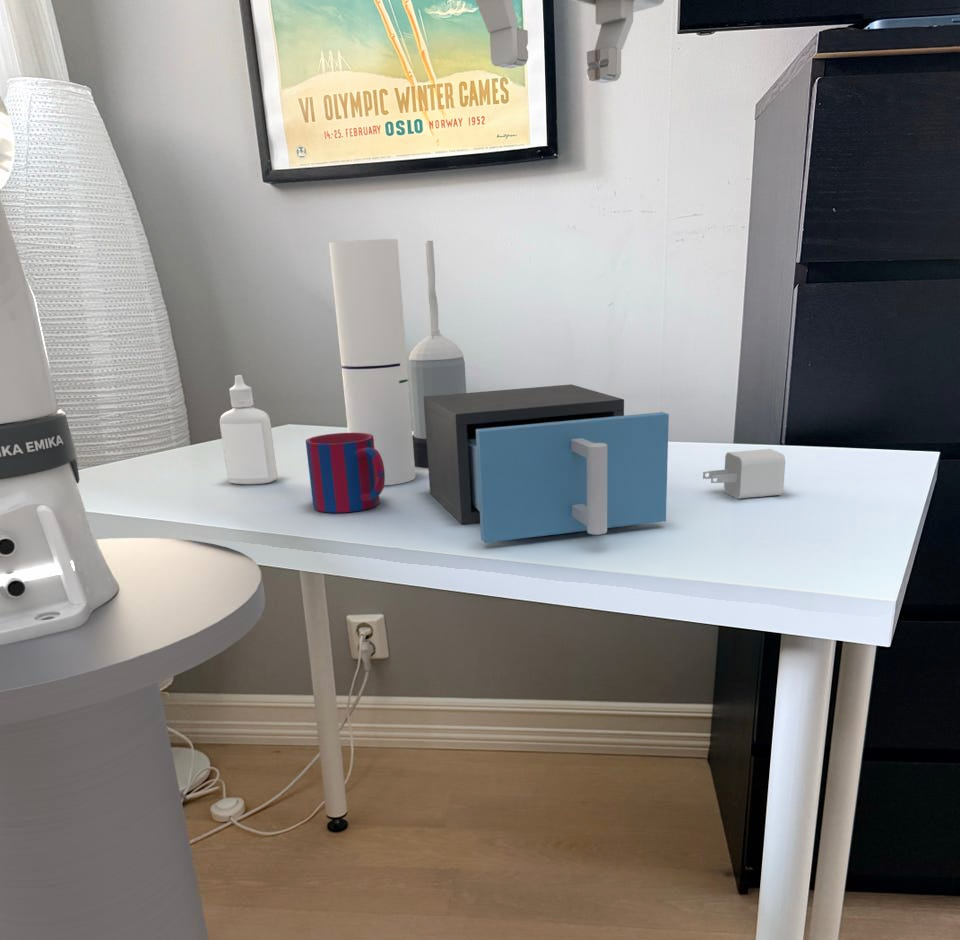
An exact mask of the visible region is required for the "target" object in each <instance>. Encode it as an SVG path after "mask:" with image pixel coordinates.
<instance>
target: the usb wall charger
mask: <svg viewBox="0 0 960 940" xmlns="http://www.w3.org/2000/svg"><path fill="white" fill-rule="evenodd" d="M785 472H786V457H785V454H784V453H782V452H779V451H778V450H774V449H772V448H765V449H764V448H763V449H753V450H741V451H740V450H739V451H729V452H726V454H725V456H724V469H717V470H707V471H703V472H702V479H705V480H706V479H707V480H708V479H709V480H710V483H711V484H723V488H724V489H723V490H724V492H725V493H726V494H728V495H730V496H731V497H733V498H735V499H736V500H737V499H749V498H750V499H751V498H761V497H763V498H764V497H773V496H782V494H783V492H784V486H785V485H784V484H785ZM707 474H708V476H706V475H707ZM715 479H716V481H714V480H715Z"/></svg>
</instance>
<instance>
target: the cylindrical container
mask: <svg viewBox="0 0 960 940" xmlns="http://www.w3.org/2000/svg"><path fill="white" fill-rule="evenodd" d="M328 248H329V257H330V267H331V277H332V288H333V297H334V307H335V316H336V326H337V327H336V328H337V337H338V347H339V355H340V365H341V366H342V367H341V376H342V377H341V378H342V386H343V394H344V395H343V396H344V405H345V417H346V424H347V425H346V426H347V433H367V434H371V435H373V439H374V449H376V450H377V451H378V452H379V454H380V456H381V458H382V461H383V465H384V472H385V482H384V487H385V486H394V485H400V484H405V483H408V482H411V481H414V480H415V479H416V466H415V463H414V450H413V437H412V436H413V422H412V409H411V396H410V383H409V370H408V359H407V346H406V345H407V344H406V334H405V332H406V331H405V321H404V320H405V319H404V307H403V294H402V293H403V292H402V280H401V279H402V278H401V268H400V267H401V266H400V255H399V254H400V253H399V241H398V239H395V238H393V239H392V238H391V239H390V238H388V239H385V238H383V239H361V240H359V239H358V240H348V241H347V240H343V241H333V242H329V243H328Z"/></svg>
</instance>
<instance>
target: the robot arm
mask: <svg viewBox="0 0 960 940" xmlns="http://www.w3.org/2000/svg"><path fill="white" fill-rule="evenodd" d="M474 1H475V3H476V6H477V8H478V11H479V13H480V16H481V18H482V21H483V23H484V25H485V28H486V30H487V33H489V43H490V45H489V46H490V61H491V64H492V65H493V66H494V67H498V68H505V69H515V68H517V67H524V66H525V65H526V64H527V62H528V59H529V50H528V48H527V47H528V44H529V33H528V30H527V29H523V28H520V27H519V22H518V20H517V16H516V12H515V9H514V5H513V2H512V0H474ZM571 1H573V2H576V3H581V4H584V5H587V6H593V7H595V24H596V25H597V26H600V27H599V32H598V36H597V40H596V43H595V47H594V49H593V50H588V51H586V65H587V70H586V77H587V78H588V80H589V81H591V82H595V83H600V84H607V83H611V82H616V81H618V80H619V79H620V78H621V75H622V50H623V49H624V46H625V43H626V40H627V38H628V36H629V33H630V30H631V28H632V25H633V23H634V13H636V12H641V11H645V10H648V9H652V8H655V7H658V6H660V5H662V4H663V3H664V1H665V0H571ZM14 158H15V137H14V129H13V125H12V120H11V117H10V115H9V112H8V109H7V107H6V105H5V103H4V101H3V99H2V96H0V190H1V189H2V188H3V187H4V185H5V184H6V182H7V180H8V179H9V176H10V174H11V171H12V168H13V166H14V165H13V164H14V160H15V159H14ZM5 211H6V210H5V208H4V204H3V201H2V198H1V197H0V646H2V645H6V644H10V643H15V642H19V641H23V640H28V639H32V638H36V637H40V636H45V635H49V634H53V633H58V632H62V631H66V630H71V629H74V628H77V627H80V626H82V625H83V624H85V623H86V622H87V620H88V619H89V617H90V615H91V613H92V612H93V611H94V610H95V609H96V608H98V607H100V606H101V605H103V604H104V603H106V602H107V601H109V600H110V599H111V598H112V597H113V596H115V594H116V593H117V592H118V589H119V584H118V582H117V581H116V579H115V577H114V575H113V574H112V572H111V570H110V568H109V566H108V564H107V562H106V561H105V558H104V556H103V554H102V552H101V550H100V547H99V545H98V543H97V540H96V539H97V538H96V535H95V533H94V530H93V528H92V525H91V522H90V519H89V516H88V513H87V511H86V507H85V505H84V502H83V498H82V495H81V493H80V489H79V485H78V484H79V483H80V473H79V467H78V464H79V463H78V456H77V450H76V446H75V442H74V437H73V434H72V432H71V430H70V427H69V422H68V418H67V414H66V412H64V411H63V410H62V409H60V408H59V404H58V400H57V395H56V390H55V386H54V381H53V376H52V372H51V371H52V370H51V367H50V363H49V358H48V353H47V349H46V343H45V337H44V335H43V330H42V325H41V319H40V316H39V311H38V305H37V301H36V297H35V295H34V292H33V290H32V288H31V286H30V283H29V281H28V278H27V275H26V273H25V269H24V267H23V263H22V261H21V257H20V255H19V252H18V249H17V247H16V242H15V239H14V236H13V233H12V230H11V228H10V227H11V226H10V223H9V221H8V217H7V214H6V212H5Z"/></svg>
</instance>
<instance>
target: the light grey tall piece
mask: <svg viewBox="0 0 960 940" xmlns="http://www.w3.org/2000/svg"><path fill="white" fill-rule="evenodd" d="M434 250H435V249H434V241H433V240H426V242H425V255H426V269H427V271H426V272H427V294H428V304H429V316H430V317H429V318H430V329H429V334H428V335H427V336H426V337H425V338H424V339H422V340H420V341H419V342H418V343H417V344H416V345H415V346H414V347H413V349H411V352H410V355H409V357H408V365H407V368H408V381H409V394H410V408H411V421H412V437H413V450H414V463H415V467H418V468H428V455H427V441H426V426H425V412H424V397H425V396H437V395H449V394H461V393H467V379H466V363H465V358H464V353H463V352H462V350H461V348H460V347H459V346H458V345H457V344H456V343H455V342H454V341H452V340H451V339H449V338H447V337H445V336H444V335H442V333H441V331H440V329H439V305H438V298H437V291H436V266H435V265H436V264H435V251H434Z"/></svg>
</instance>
